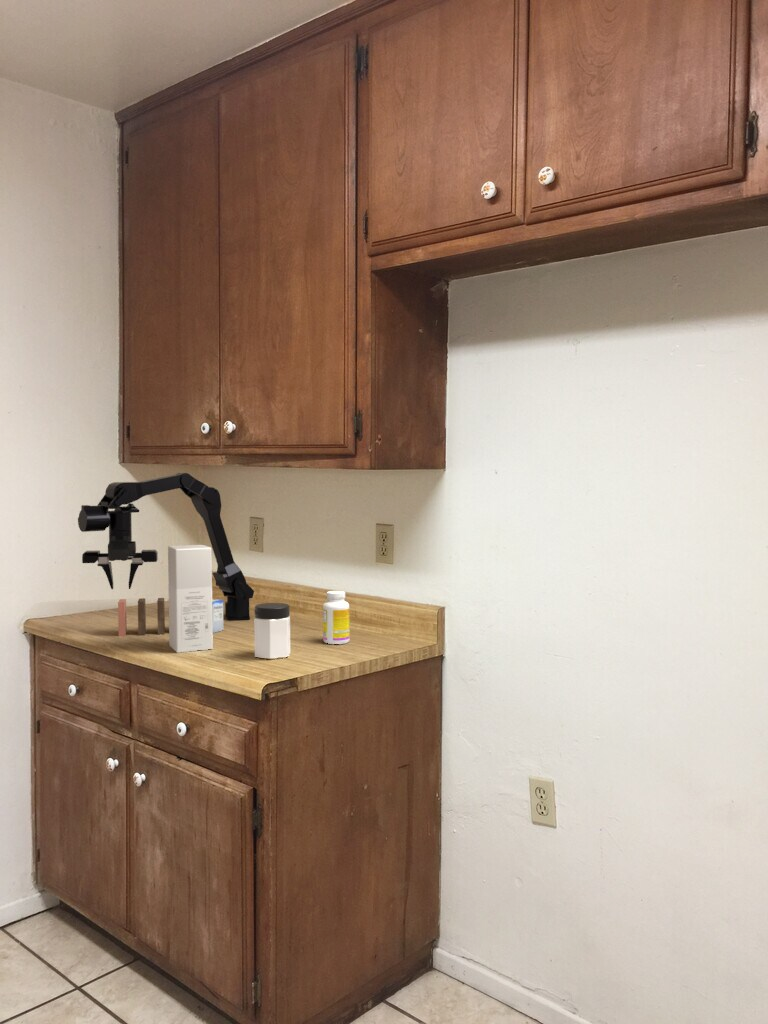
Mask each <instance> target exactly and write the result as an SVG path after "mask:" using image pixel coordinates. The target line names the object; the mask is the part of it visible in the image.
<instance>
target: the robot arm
mask: <svg viewBox="0 0 768 1024" xmlns="http://www.w3.org/2000/svg"><path fill="white" fill-rule="evenodd" d="M178 489H180V490H181V491H182V493H183V494H184V495H185V496H187V497H188V498H190V501H191V502H192V505H193V506H194V509H195V510H196V512H197V513H198V515H200V517H201V519H202V520H203V521H204V525H205V526H204V527H205V528H206V532H207V535H208V538H209V542H210V544H211V545H210V546H211V549H212V551H213V554H214V558H215V561H216V563H217V569H216V572H213V573H212V577H213V578H214V581H215V586H217V587H218V588H219V589H220V591H222V594H223V596H224V597H226V601H225V603H224V613H225V614H224V616H225V618H226V619H227V621H236V620H237V621H238V620H239V621H240V620H242V621H243V620H251V617H250V616H251V615H250V599H253V597H254V594H255V590H254V589H253V588H252V587H251V586H250V585H249V584H248V583H247V580H246V577H245V575H244V573H243V571H242V570H241V568H240V567H239V566H238V564H237V563H236V562H235V560H234V558H233V557H234V556H233V554H232V553H233V552H232V550H231V547H230V544H229V541H228V538H227V533H226V531H225V528H224V525H223V521H222V518H221V511H222V499H221V494H220V491H219V490H218V489H217V488H215V487H212V486H208V485H207V484H205V483H204V482H202V481H200V480H198V479H196V478H195V477H194V476H192V475H191V474H190V473H188V472H177V473H175V474H171V475H166V476H161V477H157V478H151V479H146V480H142V481H120V482H119V481H117V482H110V483H109V484H108V485H107V487H106V488H105V494H104V495H103V496H102V498H101V500H100V501H99V502H98V503H97V505H88V504H86V505H84V504H81V506H80V508H81V510H80V511H79V514H78V517H77V525H78V528H79V531H81V532H82V533H84V532H85V533H87V532H104V531H106V529H107V528H108V544H107V552H105V553H104V552H101V550H86V551H84V553H82V556H81V559H82V560H81V562H82V564H95V563H96V562H97V567H101V568H102V570H103V571H104V573H105V576H106V578H107V581H108V584H109V586H110V589H111V590H114V577H113V576H114V575H113V568H112V562H115V561H123V562H125V561H127V560H130V561H131V562H130V565H129V567H130V569H129V578H128V589H129V590H131V588H132V586H133V585H132V584H133V582H134V578H135V576H136V572H137V570H138V568H139V567H140V566H143V565H144V563H156V562H158V559H159V557H158V551H157V550H156V549H142V550H141V552H137V544H136V541H133V538H132V513H139V512H140V509H139V508H137V506H135V504H134V502H136V501H138V500H140V499H142V498H143V497H146V496H149V495H155V494H159V493H162V492H163V493H164V492H167V491H172V490H178ZM123 505H126V506H123Z"/></svg>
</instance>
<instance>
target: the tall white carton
mask: <svg viewBox="0 0 768 1024" xmlns="http://www.w3.org/2000/svg"><path fill="white" fill-rule="evenodd" d="M212 558H213V557H212V547H210V546H208V545H204V544H189V545H187V544H186V545H185V544H184V545H168V546H167V561H168V562H167V564H168V565H167V567H168V570H167V571H168V587H167V588H168V631H169V632H168V633H169V634H168V636H169V637H168V638H169V639H168V640H169V641H168V642H169V645H168V646H169V647H170V648H171V649H172V650H174V651H175V653H176V654H179V653H181V652H182V653H190V652H189V651H192V652H198V651H197V650H203V651H209V650H208V649H212V650H213V648H214V638H213V636H214V633H213V617H212V599H213V578H212V577H213V573H212V572H213V571H212V570H213V569H212V568H213V567H212V564H213V563H212V562H213V559H212Z"/></svg>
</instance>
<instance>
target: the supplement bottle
mask: <svg viewBox="0 0 768 1024" xmlns="http://www.w3.org/2000/svg"><path fill="white" fill-rule="evenodd" d="M326 597H327V601H325V602H324V603H323V606H322V613H323V614H322V621H323V622H322V624H323V626H322V627H323V628H322V629H323V631H322V634H323V637H322V638H323V642H324V643H325V644H327V643H328V644H327V645H334V644H339V645H344V644H345V645H346V644H348V643H349V642H350V639H351V637H350V635H351V634H350V630H351V629H350V603H349V602H348V601H345V598H346V592H345V591H344V590H343V591H342V590H330V591H327V592H326Z"/></svg>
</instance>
